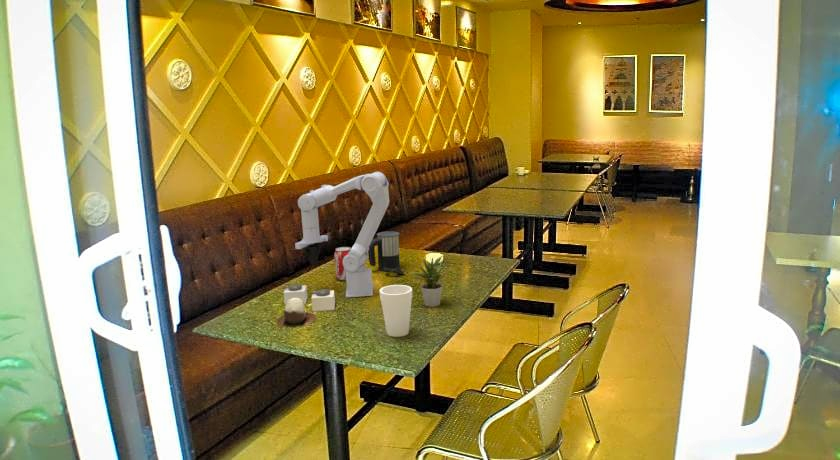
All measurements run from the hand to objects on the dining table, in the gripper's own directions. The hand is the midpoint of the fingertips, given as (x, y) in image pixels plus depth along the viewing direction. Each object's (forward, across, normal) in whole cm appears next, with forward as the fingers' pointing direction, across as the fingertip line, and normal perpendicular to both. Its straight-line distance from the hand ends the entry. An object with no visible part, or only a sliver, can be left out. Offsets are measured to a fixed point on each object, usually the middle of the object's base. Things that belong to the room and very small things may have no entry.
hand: (313, 264), depth 204 cm
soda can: (+11, -18, -2) cm, 21 cm away
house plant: (+11, -10, +44) cm, 46 cm away
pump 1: (+9, +11, 0) cm, 15 cm away
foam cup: (+11, +17, +49) cm, 53 cm away
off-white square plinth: (+10, +11, +14) cm, 20 cm away
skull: (+11, +24, +15) cm, 30 cm away
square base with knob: (+10, +11, +1) cm, 15 cm away
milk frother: (+11, -35, +9) cm, 37 cm away
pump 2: (+9, +11, +13) cm, 20 cm away
